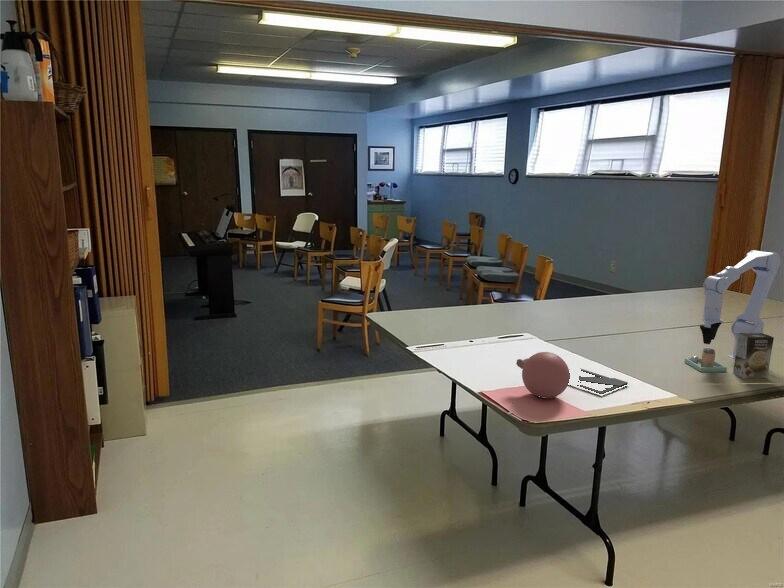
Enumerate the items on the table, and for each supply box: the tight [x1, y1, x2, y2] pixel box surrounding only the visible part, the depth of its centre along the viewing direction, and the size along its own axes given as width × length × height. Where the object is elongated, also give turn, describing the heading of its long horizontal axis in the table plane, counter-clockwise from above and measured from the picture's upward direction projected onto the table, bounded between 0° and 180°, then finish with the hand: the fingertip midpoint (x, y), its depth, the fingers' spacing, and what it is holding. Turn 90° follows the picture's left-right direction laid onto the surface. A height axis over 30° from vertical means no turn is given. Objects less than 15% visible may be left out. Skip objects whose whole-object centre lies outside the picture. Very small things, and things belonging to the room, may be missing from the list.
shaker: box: [700, 347, 716, 367], centre depth 211 cm, size 4×4×7 cm
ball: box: [689, 355, 700, 364], centre depth 215 cm, size 3×3×3 cm
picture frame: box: [577, 368, 629, 394], centre depth 197 cm, size 16×2×21 cm
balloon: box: [515, 351, 570, 399], centre depth 185 cm, size 15×20×15 cm
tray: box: [684, 357, 728, 373], centre depth 212 cm, size 10×11×2 cm
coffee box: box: [732, 332, 775, 379], centre depth 201 cm, size 9×6×16 cm
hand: (708, 341), depth 213 cm, fingers open, 7 cm apart
